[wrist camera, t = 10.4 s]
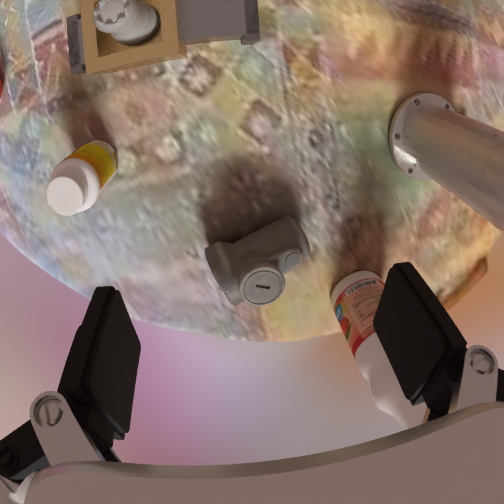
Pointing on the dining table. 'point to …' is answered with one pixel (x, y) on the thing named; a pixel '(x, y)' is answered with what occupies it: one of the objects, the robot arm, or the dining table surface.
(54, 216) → the dining table surface
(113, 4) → the rook chess piece
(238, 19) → the valve body
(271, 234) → the pipe fitting
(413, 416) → the fruit juice
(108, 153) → the supplement bottle
